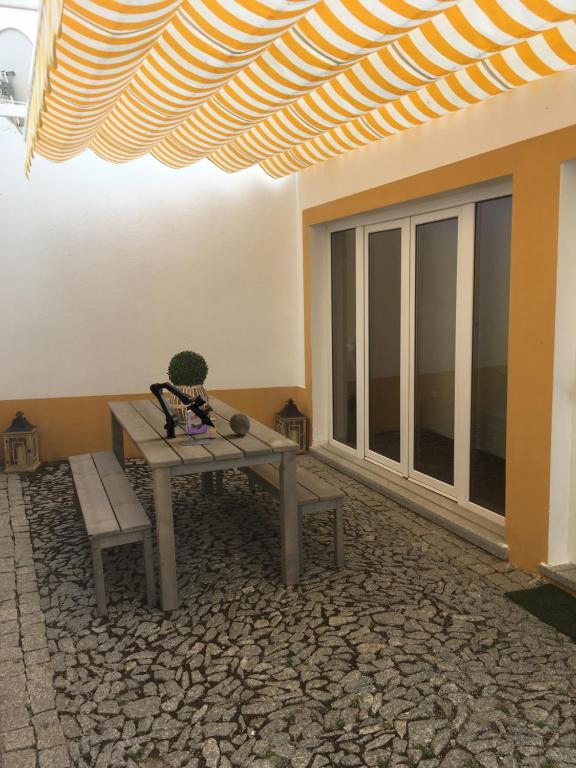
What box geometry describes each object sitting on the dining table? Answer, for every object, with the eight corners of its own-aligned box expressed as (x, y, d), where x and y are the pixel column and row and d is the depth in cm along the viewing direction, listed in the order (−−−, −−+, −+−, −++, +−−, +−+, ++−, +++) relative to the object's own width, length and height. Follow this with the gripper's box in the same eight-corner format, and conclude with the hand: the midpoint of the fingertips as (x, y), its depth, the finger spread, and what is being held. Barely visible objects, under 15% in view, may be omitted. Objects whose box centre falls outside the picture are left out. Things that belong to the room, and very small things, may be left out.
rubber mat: (181, 441, 429) (181, 440, 429) (208, 439, 432) (208, 438, 432) (182, 445, 415) (182, 445, 415) (210, 444, 419) (210, 443, 419)
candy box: (187, 434, 447) (186, 411, 445) (185, 433, 452) (184, 410, 450) (207, 432, 452) (206, 409, 450) (205, 431, 457) (204, 408, 455)
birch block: (209, 435, 438) (208, 418, 436) (215, 435, 439) (215, 418, 437) (209, 437, 434) (209, 419, 432) (216, 436, 435) (215, 419, 433)
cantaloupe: (250, 432, 451) (249, 411, 448) (250, 436, 437) (249, 415, 435) (230, 433, 450) (229, 412, 448) (229, 437, 436) (228, 416, 434)
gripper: (205, 404, 423) (223, 420, 426) (205, 399, 442) (222, 414, 445) (194, 416, 424) (211, 432, 427) (194, 411, 442) (211, 426, 445)
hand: (214, 426), depth 436 cm, fingers closed on birch block, 5 cm apart
